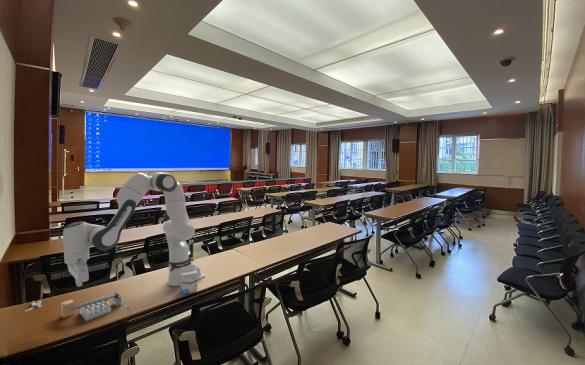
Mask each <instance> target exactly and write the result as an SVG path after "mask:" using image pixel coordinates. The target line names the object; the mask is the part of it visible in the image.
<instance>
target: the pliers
mask: <svg viewBox="0 0 585 365" xmlns="http://www.w3.org/2000/svg"><path fill="white" fill-rule="evenodd" d="M32 302H33V303H32ZM32 302H31V307H30V308H28V309H26V310H25V311H24V313H25V312H29V311H31V310H34V309H35V308H40V307H42V300H41V301H39V300H38V301H37V302H35V301H34V300H33V301H32Z"/></svg>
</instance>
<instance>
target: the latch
mask: <svg viewBox="0 0 585 365" xmlns="http://www.w3.org/2000/svg"><path fill="white" fill-rule="evenodd" d="M60 305H61V306H60V307H61V316H62V319H64V318H67V317H71V316H73V315H75V310H72V311H70V310H69V307H72V306H75V304H74V300H73V299H72V298H71V299H69V300H65V301H63V302H61V303H60Z"/></svg>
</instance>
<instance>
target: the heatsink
mask: <svg viewBox="0 0 585 365" xmlns="http://www.w3.org/2000/svg"><path fill="white" fill-rule="evenodd" d="M101 297H104V296H103V295H102V296H101ZM98 298H99V297H97V298H95V299H98ZM92 300H93V299H91V300H90V301H92ZM121 300H122V296H121V295H120V294H119V297H117V296H116V297H113V298H112V305H113V306H114V307H115V308H117V307H119V306H122V303H121ZM88 301H89V300H87V301H86V302H88ZM82 303H83V302H82ZM82 303H80V304H82ZM111 312H112V308H111V307H110V302H109V301H108V299H107V300H104V301H100V302H97V303H94V304H91V305H88V306H85V307H81V308H80V309H79V314H80V316H81V317H82V319H83V320H84V321H85V322H88V321H91V320H93V319H95V318H99V317H101V316H103V315H106V314H108V313H111Z"/></svg>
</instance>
